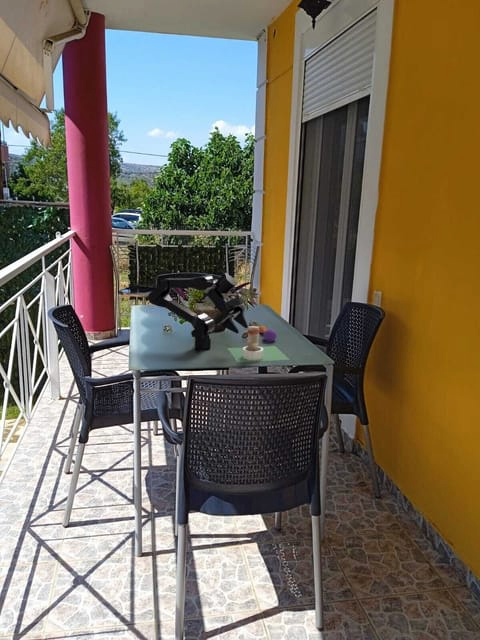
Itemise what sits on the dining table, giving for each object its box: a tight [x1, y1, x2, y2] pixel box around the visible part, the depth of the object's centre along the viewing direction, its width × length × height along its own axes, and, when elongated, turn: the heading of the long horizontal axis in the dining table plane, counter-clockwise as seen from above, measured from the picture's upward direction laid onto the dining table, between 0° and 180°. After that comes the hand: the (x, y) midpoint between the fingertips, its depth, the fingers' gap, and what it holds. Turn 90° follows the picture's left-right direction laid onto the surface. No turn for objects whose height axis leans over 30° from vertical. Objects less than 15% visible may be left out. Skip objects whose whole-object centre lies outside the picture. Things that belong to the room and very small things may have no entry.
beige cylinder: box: [247, 325, 260, 351], centre depth 191 cm, size 4×4×12 cm
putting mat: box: [227, 345, 291, 363], centre depth 196 cm, size 22×19×1 cm
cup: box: [242, 345, 264, 360], centre depth 192 cm, size 8×8×4 cm
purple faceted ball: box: [258, 325, 277, 343], centre depth 223 cm, size 6×6×20 cm
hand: (242, 330), depth 192 cm, fingers open, 9 cm apart
